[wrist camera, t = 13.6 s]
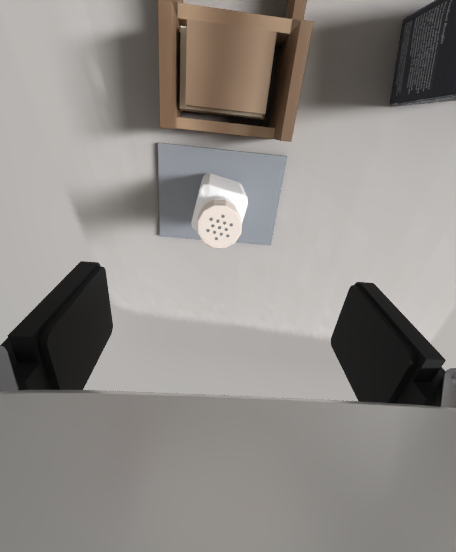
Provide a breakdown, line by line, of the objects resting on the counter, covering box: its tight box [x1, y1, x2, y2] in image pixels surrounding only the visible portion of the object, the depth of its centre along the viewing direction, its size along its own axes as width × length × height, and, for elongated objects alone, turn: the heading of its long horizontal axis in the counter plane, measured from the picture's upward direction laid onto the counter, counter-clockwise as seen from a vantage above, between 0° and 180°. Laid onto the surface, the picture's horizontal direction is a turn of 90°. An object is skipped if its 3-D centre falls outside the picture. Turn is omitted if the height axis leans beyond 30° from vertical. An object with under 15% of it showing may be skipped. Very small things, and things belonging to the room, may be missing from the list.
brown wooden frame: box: [158, 0, 313, 142], centre depth 19 cm, size 10×14×6 cm, turn 174°
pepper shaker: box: [191, 173, 248, 248], centre depth 23 cm, size 4×4×10 cm
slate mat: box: [158, 143, 287, 245], centre depth 28 cm, size 12×9×1 cm
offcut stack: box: [180, 19, 277, 120], centre depth 22 cm, size 7×5×5 cm
